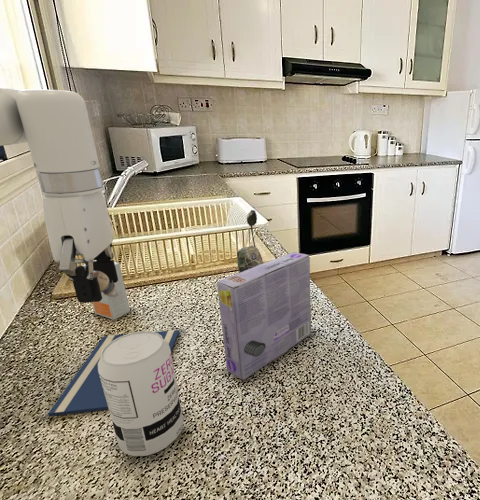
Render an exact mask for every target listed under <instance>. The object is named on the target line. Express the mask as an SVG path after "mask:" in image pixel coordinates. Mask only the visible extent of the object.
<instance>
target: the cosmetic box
mask: <svg viewBox="0 0 480 500" xmlns="http://www.w3.org/2000/svg"><path fill="white" fill-rule="evenodd" d="M94 261H96V260H94ZM114 263H115V267H116V272H117V276H118V281H117V282H116V283H114V284H115V287H116V291H117V293H118V296H119V298H118V296H117V297H115V299H114V297H112V298H111V297H109V296H106V295H104V293H103V292H101V294H102V300H101V301H99V302H91V304H92V307H93V311H94V314H95V315H99V316H101V317H105V318H107V319H109V320H112V321H115V320H117V319H119V318H121V317H122V316H125V315H126V314H128V313H130V312H131V308H130V304H129V299H128V295H127V291H126V285H125V281H124V276H123V273H122V267H121V263H120V262H116V261H114ZM82 266H84V267H85V263H83V264H82ZM85 269H86V267H85ZM93 271H94V270H93ZM110 298H111V299H110ZM109 299H110V300H109ZM111 300H112V301H111ZM107 301H108V302H107Z"/></svg>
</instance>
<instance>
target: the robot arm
mask: <svg viewBox="0 0 480 500" xmlns="http://www.w3.org/2000/svg"><path fill="white" fill-rule="evenodd" d="M26 143H27V145H28V149H29V152H30V156H31V159H32V162H33V166H34V169H35V173H36V177H37V181H38V184H39V188H40V191H41V192H40V193H41V194H42V196H43V197H42V208H43V217H44V223H45V228H46V233H47V237H48V242H49V247H50V251H51V255H52V258H53V260H54V262H55V263H57V264H58V265H59V266H58V269H59V271H60V272H61V273H64V275H66V276H67V277H69V280H70V282H72V285H73V289H74V293H75V295H76V299H77V302H78V303H80V304H85V303H92V302H99V301H101V300H102V294H101V290H100V286H99V282H98V278H97V277H94V272H93V270H94V271H100V272H103V273H104V274H106V275H107V276H108V278H109V281H110V283H112V282H113V283H116V282H117V281H118V276H117V272H116V267H115V263H114V262H115V260H114V258H115V254H114V252H113V250H112V248H113V241H114V238H115V235H114V230H113V225H112V220H111V217H110V213H109V209H108V206H107V203H106V199H105V196H104V193H103V191H104V190H105V185H104V179H103V175H102V171H101V167H100V163H99V159H98V153H97V150H96V149H97V148H96V145H95V140H94V135H93V131H92V126H91V121H90V118H89V112H88V109H87V105H86V101H85V100H84V98H83V97H82V96H81V95H80V94H79V93H78V92H75V91H72V90H63V89H19V88H13V87H5V86H0V147H1V146H3V147H4V146H13V145H19V144H26ZM77 256H82V257H83V258H76V257H77ZM95 260H96V261H95ZM78 264H85V267H86V270H84V269H83V268H81V267H77V266H78ZM112 280H113V281H112Z"/></svg>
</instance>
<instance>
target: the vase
mask: <svg viewBox="0 0 480 500" xmlns="http://www.w3.org/2000/svg"><path fill="white" fill-rule="evenodd" d="M77 267H81V268H83V269H84V270H86V269H85V267H84V266H83V265H77ZM93 272H94V277H97V278H98V282H99V286H100V290H101V292H103V293H104V295H106V296H109V297H111V298H112V297H114V299H115V297H117V296H118V293H117V291H116V287H115V284H114V283H113V282H112V283H110V281H109V278H108V276H107V275H106V274H104V273H103V272H100V271H93ZM112 281H113V280H112ZM111 298H110V299H111ZM118 298H119V296H118ZM110 299H109V300H110ZM111 301H112V300H111ZM107 302H108V301H107Z"/></svg>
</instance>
